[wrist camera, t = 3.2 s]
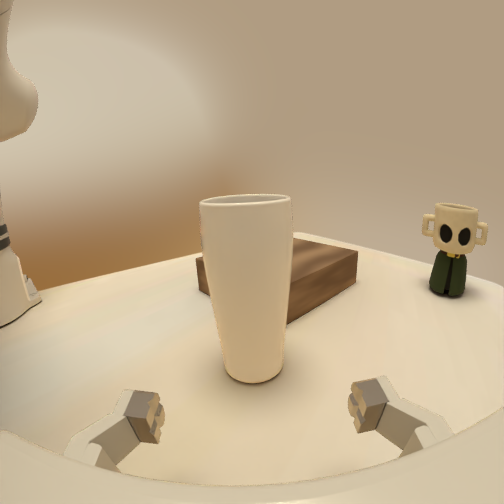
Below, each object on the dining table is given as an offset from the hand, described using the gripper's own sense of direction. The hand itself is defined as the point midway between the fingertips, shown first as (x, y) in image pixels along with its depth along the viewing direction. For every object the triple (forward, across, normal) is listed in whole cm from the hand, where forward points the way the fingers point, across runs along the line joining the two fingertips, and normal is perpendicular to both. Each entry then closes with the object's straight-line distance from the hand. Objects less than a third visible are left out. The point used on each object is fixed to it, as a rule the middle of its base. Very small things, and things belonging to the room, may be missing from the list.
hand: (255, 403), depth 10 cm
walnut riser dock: (+30, -4, +8) cm, 32 cm away
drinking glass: (+12, 0, +8) cm, 15 cm away
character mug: (+23, -30, +8) cm, 39 cm away
